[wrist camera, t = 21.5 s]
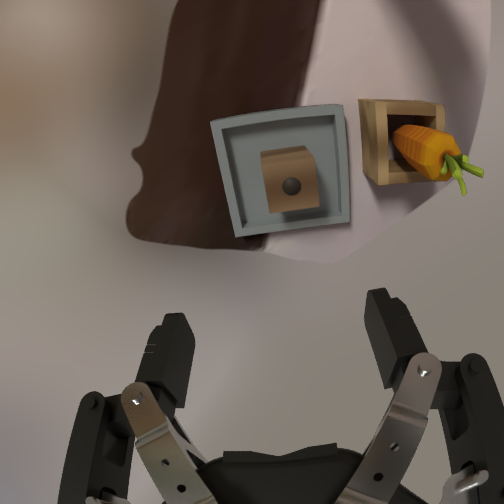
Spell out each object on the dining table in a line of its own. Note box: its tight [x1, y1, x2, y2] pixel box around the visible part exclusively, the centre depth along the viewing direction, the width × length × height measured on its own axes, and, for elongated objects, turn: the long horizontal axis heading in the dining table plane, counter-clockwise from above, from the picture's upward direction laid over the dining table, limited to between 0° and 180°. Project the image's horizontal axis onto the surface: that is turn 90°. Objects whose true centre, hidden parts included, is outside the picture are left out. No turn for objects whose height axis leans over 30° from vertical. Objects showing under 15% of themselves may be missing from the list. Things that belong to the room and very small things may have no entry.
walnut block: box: [260, 145, 319, 214], centre depth 29 cm, size 5×5×6 cm
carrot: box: [392, 125, 484, 196], centre depth 22 cm, size 5×5×15 cm
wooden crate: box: [358, 99, 445, 186], centre depth 26 cm, size 9×9×5 cm
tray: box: [210, 104, 350, 237], centre depth 31 cm, size 14×14×2 cm
